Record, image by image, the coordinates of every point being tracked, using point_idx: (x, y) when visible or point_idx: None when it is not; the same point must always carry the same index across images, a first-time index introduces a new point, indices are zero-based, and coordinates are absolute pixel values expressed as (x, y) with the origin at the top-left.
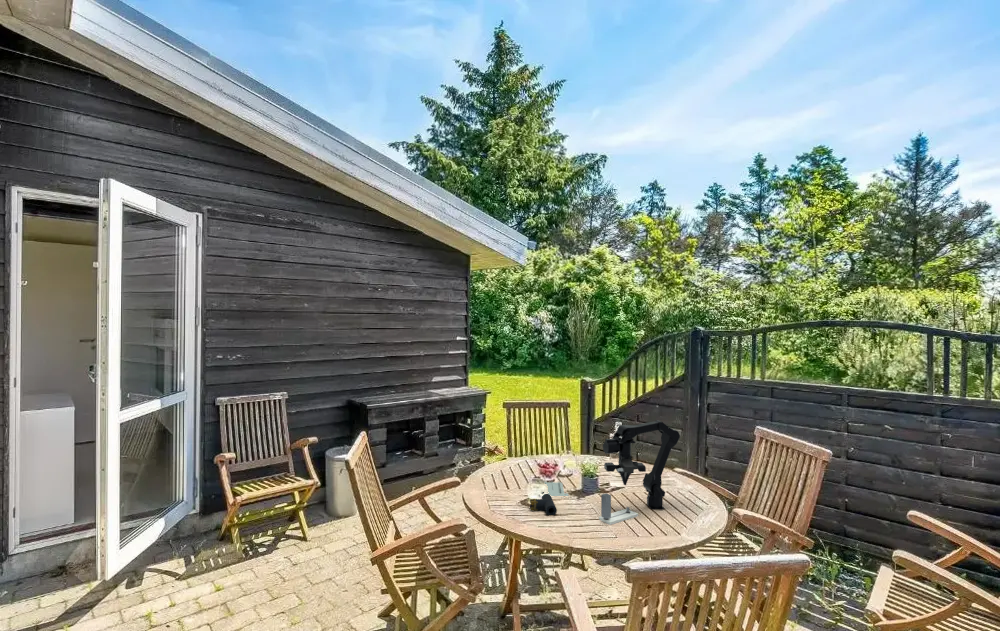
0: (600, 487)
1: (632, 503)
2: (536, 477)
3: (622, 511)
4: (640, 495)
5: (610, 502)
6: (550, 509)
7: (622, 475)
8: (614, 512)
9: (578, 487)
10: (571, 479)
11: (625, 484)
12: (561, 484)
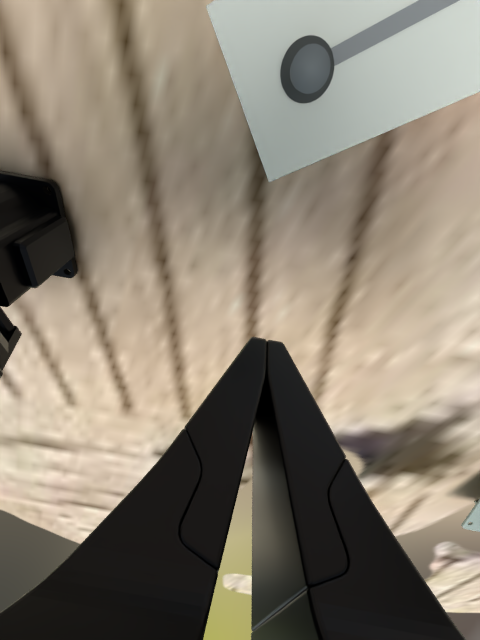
0: None
1: (171, 303)
2: (456, 558)
3: (348, 113)
4: (98, 380)
5: None
6: None
7: (400, 600)
8: (454, 97)
9: None
10: None
11: (258, 344)
12: (474, 518)
